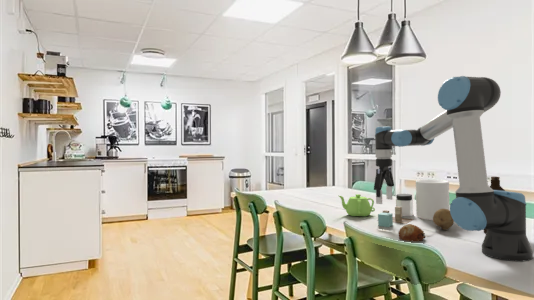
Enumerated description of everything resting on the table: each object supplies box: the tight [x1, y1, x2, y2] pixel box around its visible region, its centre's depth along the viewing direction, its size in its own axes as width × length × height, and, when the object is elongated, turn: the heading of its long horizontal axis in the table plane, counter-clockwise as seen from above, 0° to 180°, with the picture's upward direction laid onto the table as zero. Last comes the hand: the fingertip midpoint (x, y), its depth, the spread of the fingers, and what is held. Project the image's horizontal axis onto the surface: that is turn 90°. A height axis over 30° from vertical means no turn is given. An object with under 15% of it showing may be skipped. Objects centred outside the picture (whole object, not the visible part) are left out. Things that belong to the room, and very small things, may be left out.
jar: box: [395, 193, 414, 217], centre depth 191 cm, size 9×8×12 cm
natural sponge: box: [432, 209, 455, 231], centre depth 160 cm, size 9×9×10 cm
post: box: [394, 205, 403, 221], centre depth 177 cm, size 3×3×7 cm
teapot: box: [338, 193, 376, 217], centre depth 194 cm, size 16×14×13 cm
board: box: [393, 216, 414, 225], centre depth 180 cm, size 12×15×1 cm
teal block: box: [377, 211, 394, 228], centre depth 169 cm, size 5×5×7 cm
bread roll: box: [398, 223, 426, 243], centre depth 149 cm, size 10×10×8 cm
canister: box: [415, 179, 450, 221], centre depth 184 cm, size 16×16×20 cm
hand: (384, 201), depth 169 cm, fingers open, 13 cm apart
